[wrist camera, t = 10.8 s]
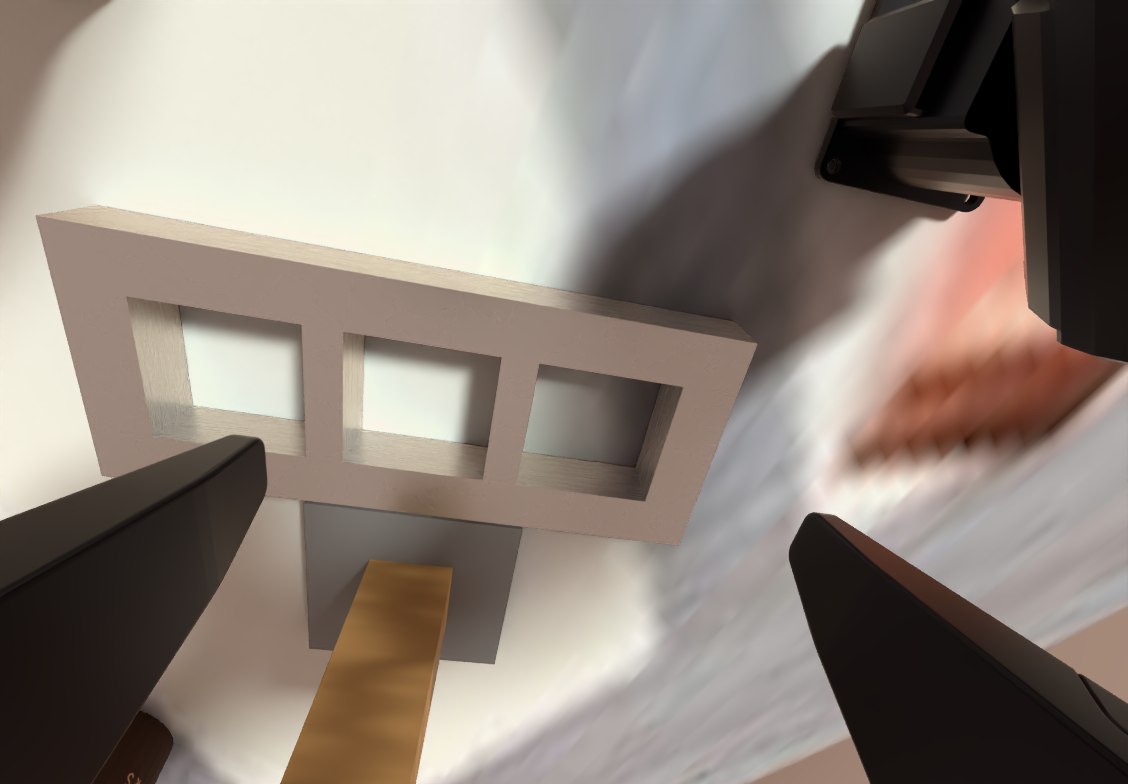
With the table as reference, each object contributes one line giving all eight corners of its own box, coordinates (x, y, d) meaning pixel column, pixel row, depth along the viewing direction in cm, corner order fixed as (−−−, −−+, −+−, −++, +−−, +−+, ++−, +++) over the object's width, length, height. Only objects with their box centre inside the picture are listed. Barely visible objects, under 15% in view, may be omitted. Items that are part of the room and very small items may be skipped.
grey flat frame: (734, 321, 21) (757, 343, 19) (666, 509, 25) (678, 545, 23) (98, 205, 18) (36, 215, 16) (145, 442, 22) (101, 475, 20)
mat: (522, 515, 25) (522, 529, 24) (495, 648, 29) (494, 664, 29) (312, 489, 24) (303, 503, 23) (316, 632, 28) (309, 648, 27)
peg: (452, 567, 25) (405, 805, 16) (446, 622, 27) (400, 864, 18) (370, 559, 25) (273, 800, 16) (368, 615, 26) (281, 861, 17)
